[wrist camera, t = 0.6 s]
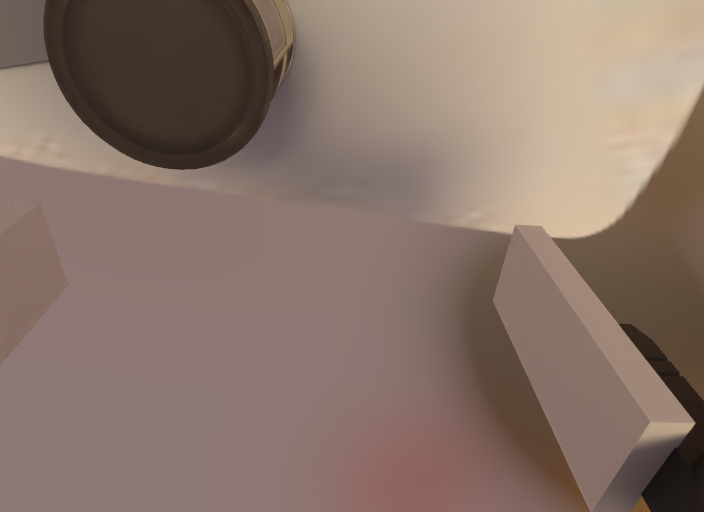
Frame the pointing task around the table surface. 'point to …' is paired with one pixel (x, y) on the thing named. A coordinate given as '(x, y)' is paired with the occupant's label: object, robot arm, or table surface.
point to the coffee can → (170, 72)
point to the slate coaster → (22, 32)
